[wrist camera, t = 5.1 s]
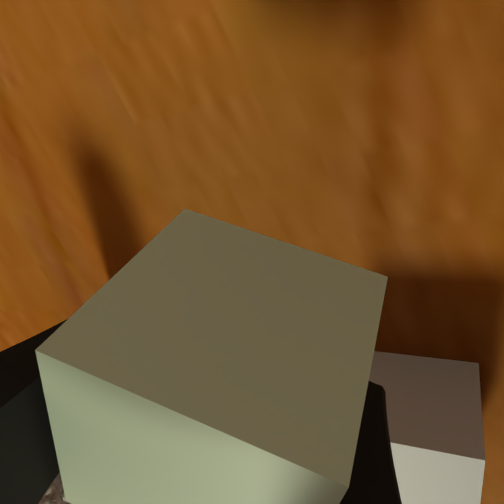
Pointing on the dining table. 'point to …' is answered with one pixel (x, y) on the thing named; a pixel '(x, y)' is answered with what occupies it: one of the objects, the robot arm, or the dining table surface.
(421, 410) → the grey cube
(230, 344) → the green cube
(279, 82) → the dining table surface
